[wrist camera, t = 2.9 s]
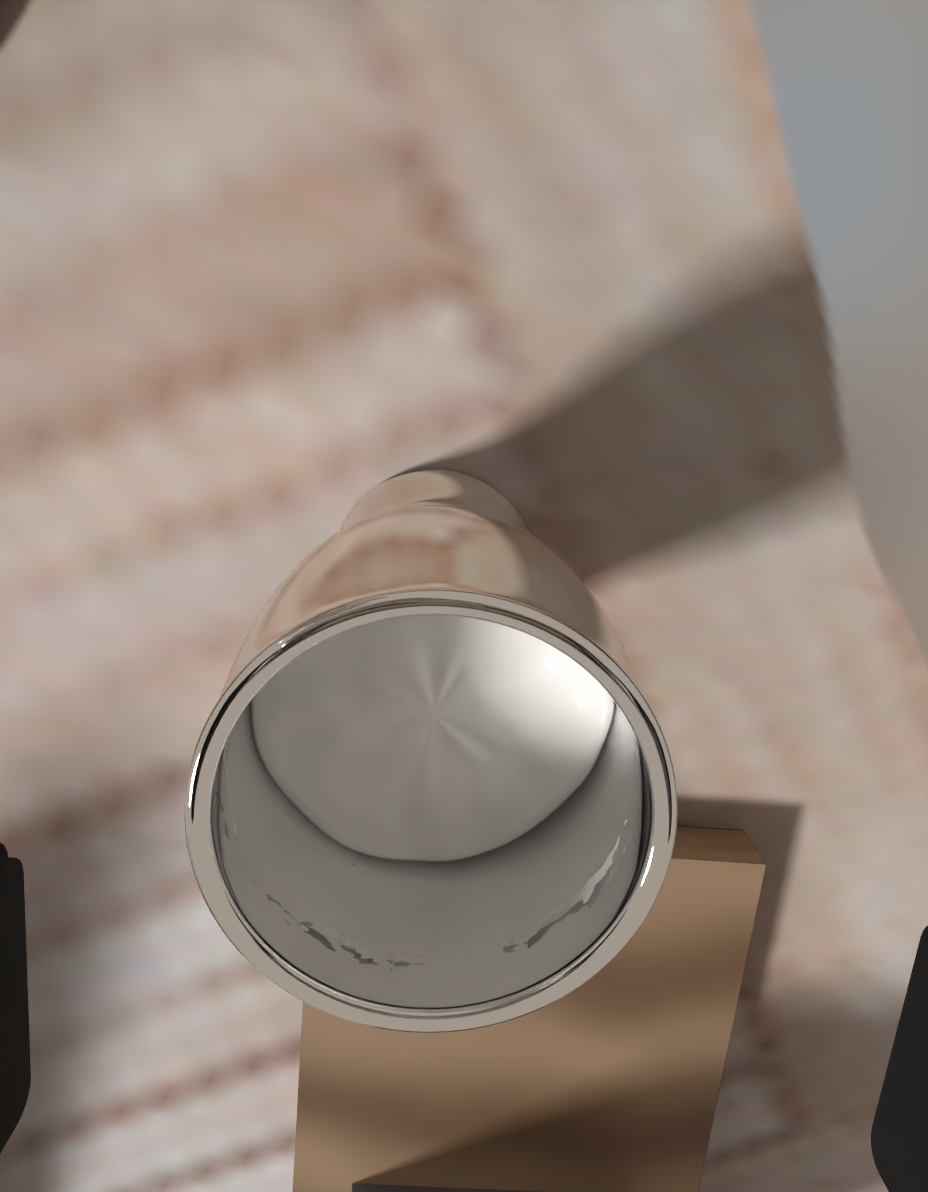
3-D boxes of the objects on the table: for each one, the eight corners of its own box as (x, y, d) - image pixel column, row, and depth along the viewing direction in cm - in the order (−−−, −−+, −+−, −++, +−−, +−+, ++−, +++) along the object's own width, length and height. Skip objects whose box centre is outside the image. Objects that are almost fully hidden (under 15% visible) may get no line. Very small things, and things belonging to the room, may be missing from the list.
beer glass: (273, 524, 25) (58, 736, 11) (481, 409, 25) (548, 470, 10) (390, 715, 27) (339, 1121, 12) (588, 613, 26) (776, 915, 12)
